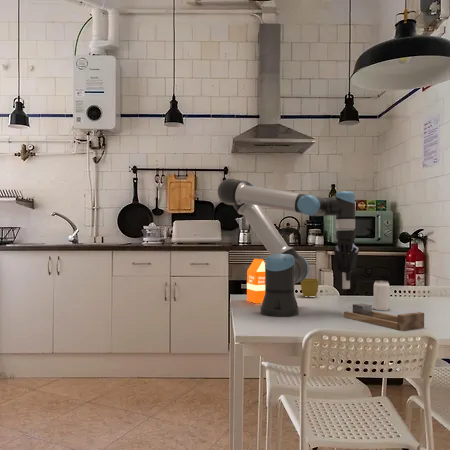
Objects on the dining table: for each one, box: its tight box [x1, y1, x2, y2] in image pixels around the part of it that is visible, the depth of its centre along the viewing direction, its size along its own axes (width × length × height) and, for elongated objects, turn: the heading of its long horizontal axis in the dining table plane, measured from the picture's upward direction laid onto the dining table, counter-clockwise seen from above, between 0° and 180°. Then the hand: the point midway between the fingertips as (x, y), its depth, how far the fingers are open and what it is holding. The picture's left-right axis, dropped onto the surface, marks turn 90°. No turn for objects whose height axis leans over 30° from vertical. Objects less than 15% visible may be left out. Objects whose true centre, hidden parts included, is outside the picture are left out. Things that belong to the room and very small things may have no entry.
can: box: [373, 280, 391, 312], centre depth 191 cm, size 6×6×12 cm
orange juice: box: [246, 258, 266, 304], centre depth 208 cm, size 8×9×20 cm
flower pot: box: [300, 278, 320, 297], centre depth 226 cm, size 9×9×9 cm
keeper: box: [352, 303, 373, 317], centre depth 173 cm, size 5×5×5 cm
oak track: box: [343, 310, 425, 331], centre depth 165 cm, size 11×27×5 cm, turn 30°
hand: (346, 288), depth 181 cm, fingers closed
